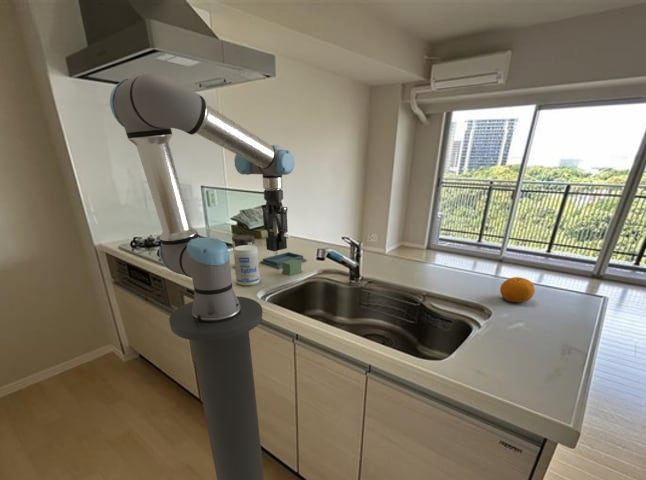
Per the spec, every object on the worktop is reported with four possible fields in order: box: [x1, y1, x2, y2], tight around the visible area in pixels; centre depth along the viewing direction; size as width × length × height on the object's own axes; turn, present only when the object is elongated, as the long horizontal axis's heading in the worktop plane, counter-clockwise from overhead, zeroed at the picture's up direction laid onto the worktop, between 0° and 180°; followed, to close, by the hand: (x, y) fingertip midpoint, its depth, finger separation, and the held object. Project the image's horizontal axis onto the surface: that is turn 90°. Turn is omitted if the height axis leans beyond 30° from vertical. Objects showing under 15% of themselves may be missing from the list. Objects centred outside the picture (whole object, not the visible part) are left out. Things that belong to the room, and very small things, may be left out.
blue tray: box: [259, 251, 307, 270], centre depth 167 cm, size 18×14×2 cm
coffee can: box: [231, 234, 256, 261], centre depth 158 cm, size 10×10×14 cm
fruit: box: [499, 276, 536, 303], centre depth 118 cm, size 10×10×8 cm
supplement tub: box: [233, 245, 261, 287], centre depth 137 cm, size 10×10×15 cm
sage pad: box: [281, 259, 302, 276], centre depth 151 cm, size 7×5×5 cm
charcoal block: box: [265, 234, 288, 252], centre depth 141 cm, size 7×5×5 cm
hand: (276, 248), depth 141 cm, fingers closed on charcoal block, 5 cm apart
